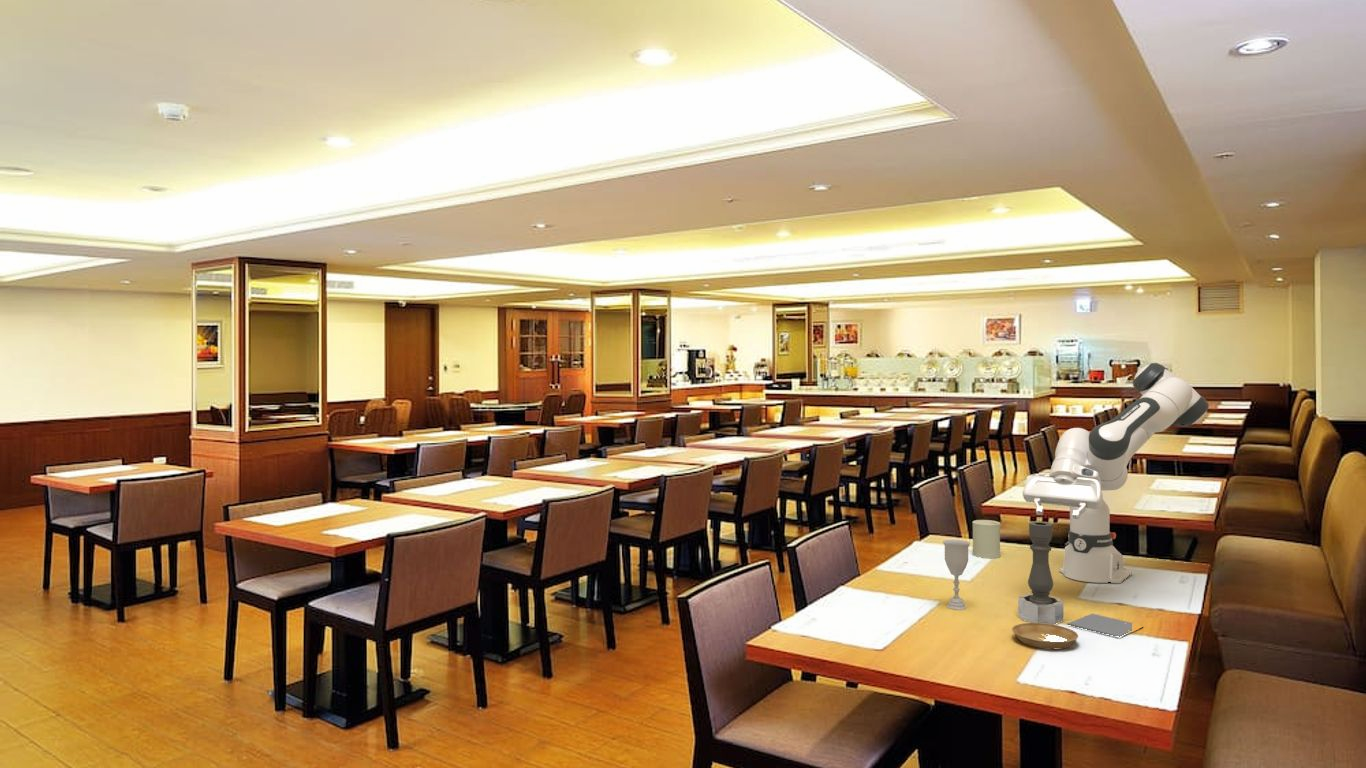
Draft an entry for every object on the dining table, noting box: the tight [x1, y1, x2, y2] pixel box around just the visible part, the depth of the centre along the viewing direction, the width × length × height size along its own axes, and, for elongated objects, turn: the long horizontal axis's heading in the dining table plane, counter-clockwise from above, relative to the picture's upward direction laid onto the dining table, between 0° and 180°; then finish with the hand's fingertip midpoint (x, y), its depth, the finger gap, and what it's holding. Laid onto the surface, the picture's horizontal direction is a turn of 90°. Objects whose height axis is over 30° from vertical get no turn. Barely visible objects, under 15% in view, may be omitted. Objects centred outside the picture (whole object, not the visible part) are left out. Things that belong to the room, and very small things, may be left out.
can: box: [971, 519, 1002, 559], centre depth 292 cm, size 9×9×12 cm
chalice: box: [942, 538, 971, 611], centre depth 233 cm, size 7×7×18 cm
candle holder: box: [1027, 521, 1054, 604], centre depth 222 cm, size 6×6×25 cm
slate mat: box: [1066, 613, 1133, 637], centre depth 214 cm, size 13×13×1 cm
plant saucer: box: [1011, 622, 1079, 650], centre depth 204 cm, size 15×15×3 cm
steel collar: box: [1017, 593, 1064, 625], centre depth 222 cm, size 10×10×5 cm
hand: (1057, 515), depth 230 cm, fingers open, 8 cm apart
